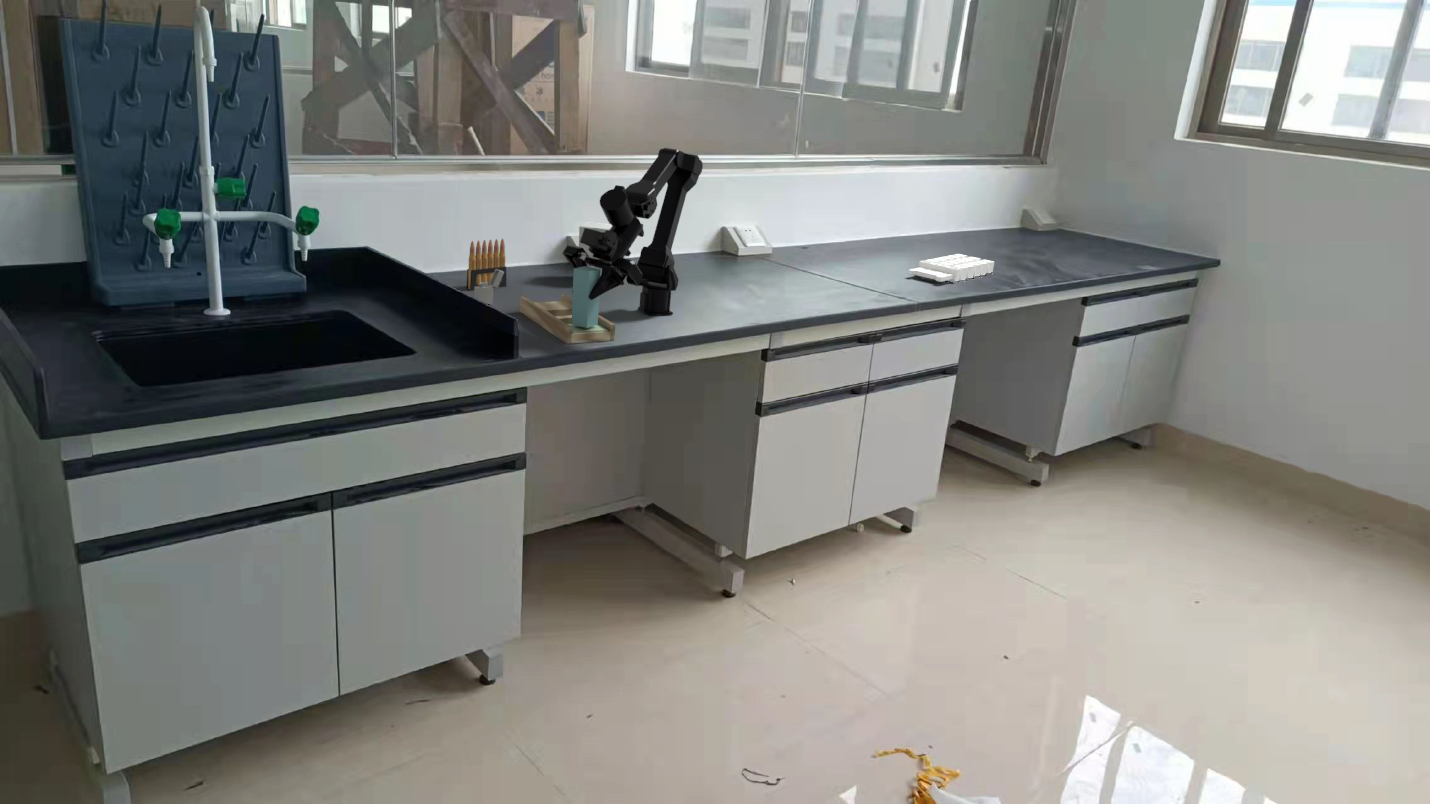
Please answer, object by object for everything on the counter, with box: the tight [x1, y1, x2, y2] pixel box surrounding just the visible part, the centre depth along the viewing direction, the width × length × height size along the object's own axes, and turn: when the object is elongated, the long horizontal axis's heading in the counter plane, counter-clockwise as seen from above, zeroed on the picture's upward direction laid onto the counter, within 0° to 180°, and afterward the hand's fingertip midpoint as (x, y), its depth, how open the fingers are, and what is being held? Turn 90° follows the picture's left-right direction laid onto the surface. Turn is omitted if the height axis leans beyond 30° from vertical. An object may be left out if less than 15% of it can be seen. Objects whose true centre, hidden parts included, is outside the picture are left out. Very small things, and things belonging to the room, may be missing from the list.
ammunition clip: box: [466, 238, 508, 292], centre depth 245 cm, size 11×2×12 cm, turn 138°
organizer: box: [907, 253, 995, 282], centre depth 317 cm, size 13×5×35 cm
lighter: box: [473, 269, 504, 306], centre depth 231 cm, size 7×2×8 cm, turn 138°
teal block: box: [571, 266, 601, 328], centre depth 211 cm, size 4×4×12 cm
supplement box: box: [578, 221, 612, 276], centre depth 262 cm, size 9×9×15 cm
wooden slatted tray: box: [519, 294, 616, 345], centre depth 221 cm, size 11×26×4 cm, turn 32°
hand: (581, 296), depth 210 cm, fingers closed on teal block, 4 cm apart
